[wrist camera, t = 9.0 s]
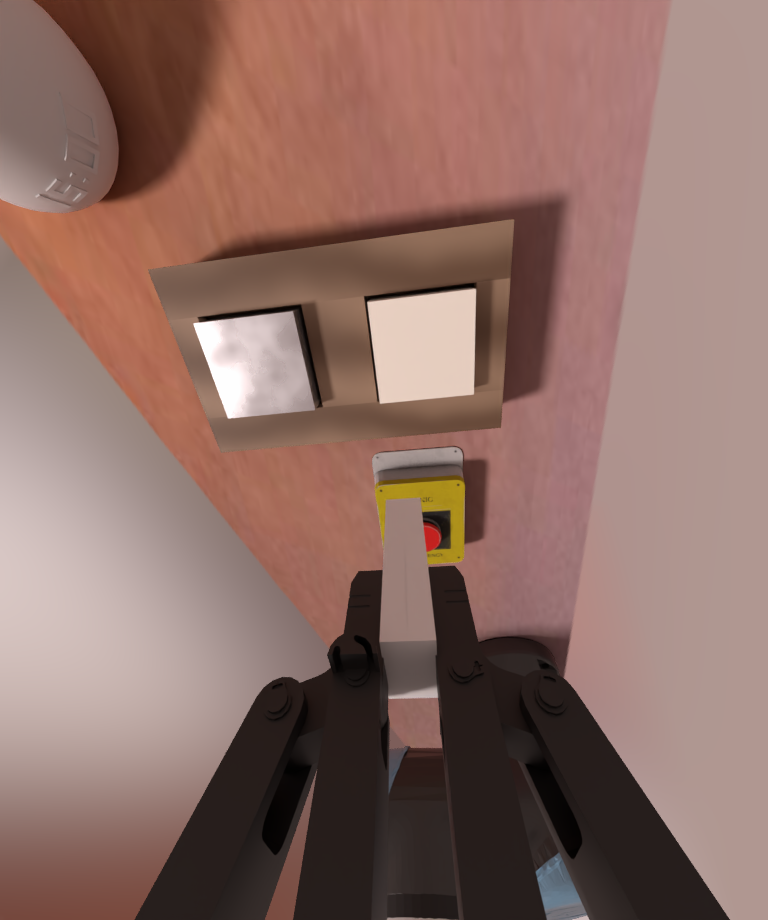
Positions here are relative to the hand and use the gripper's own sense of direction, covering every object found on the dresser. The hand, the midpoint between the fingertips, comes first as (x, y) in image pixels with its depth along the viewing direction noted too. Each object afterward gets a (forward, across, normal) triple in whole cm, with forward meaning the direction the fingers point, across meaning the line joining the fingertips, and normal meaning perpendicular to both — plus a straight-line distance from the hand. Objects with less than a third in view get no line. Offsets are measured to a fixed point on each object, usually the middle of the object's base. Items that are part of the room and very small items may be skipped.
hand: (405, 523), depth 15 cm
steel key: (+16, +10, -5) cm, 19 cm away
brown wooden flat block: (+18, +4, -5) cm, 19 cm away
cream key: (+16, -2, -5) cm, 17 cm away
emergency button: (+19, -1, +13) cm, 23 cm away
